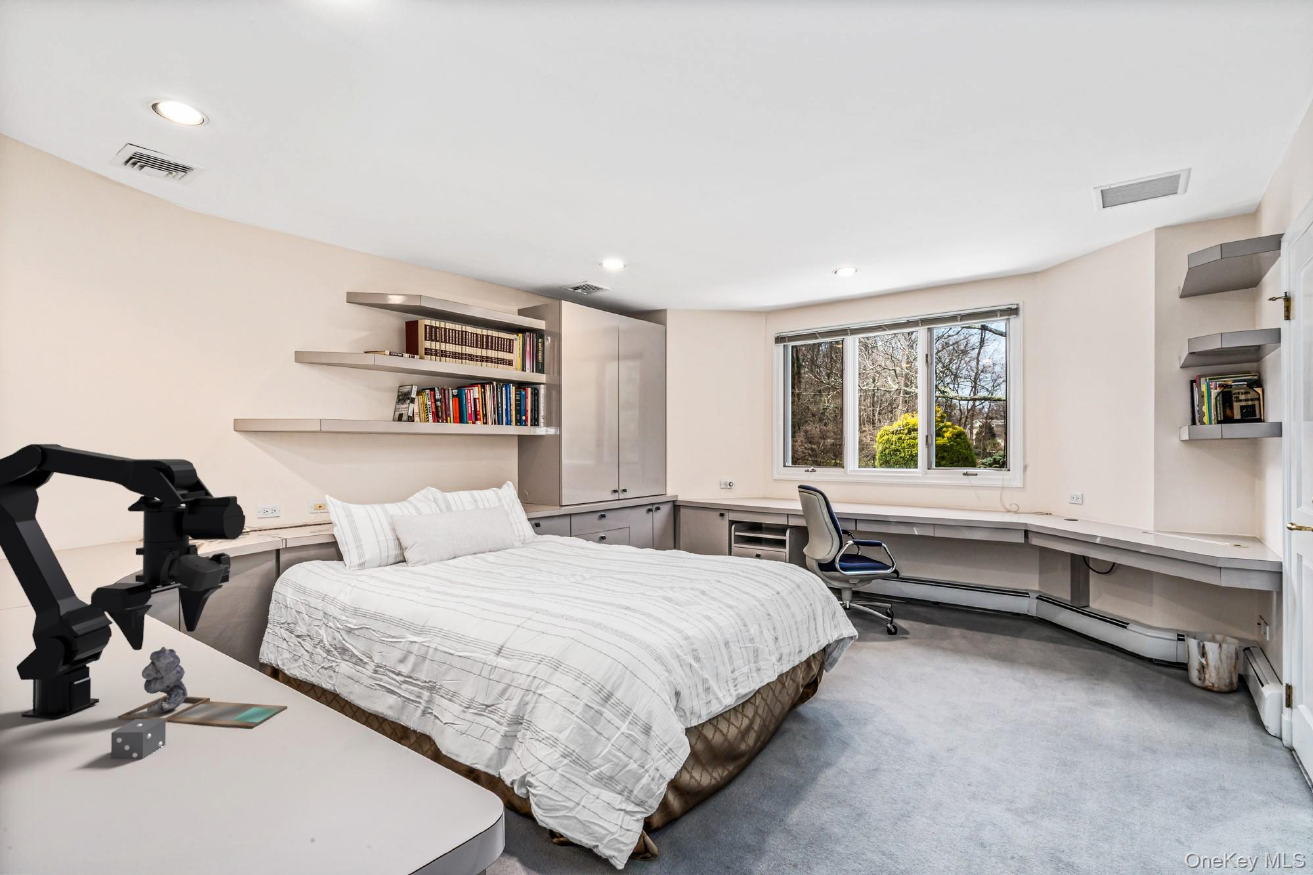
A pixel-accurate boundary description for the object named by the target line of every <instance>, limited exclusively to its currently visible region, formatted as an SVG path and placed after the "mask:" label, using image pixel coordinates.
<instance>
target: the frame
mask: <svg viewBox="0 0 1313 875" xmlns="http://www.w3.org/2000/svg"><path fill="white" fill-rule="evenodd" d="M168 698H169V696H168V695H167V694H166V695H164V696H160V697H159V698H156V699H154V700H152V701H149V702H147V703H145V704H143V705H140V706H138V707H136V708H134V709H132V710H129V711H126V712H125V713H122V714H121V715H118V716H117V719H119V720H120V719H121V720H131V721H133V720H135V719H166V723H169V722H168V720H169V719H172V718H174V717H176V716H178V715H180V714H182V713H184V712H186V711H188V710H190V709H192V708H194V707H196V706H198V705H200V704H202V703H205V702H207V701H211V698H210V697H202V696H201V697H199V696H187V697H186V698H185V699H184V701H183V703H184V702H188V703H194V704H191V705H189V706H187V707H185V708H183V709H181V710H179V711H177V712H175V713H173V714H171V715H169V716H166V717H157V716H156V717H155V716H142V715H141V716H140V715H133V714H135V713H138V712H140V711H144V710H147V708H149V707H151V706H152V705H154V704H155V703H156V701H161V702H162V703H164V702H166V701H168Z"/></svg>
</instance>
